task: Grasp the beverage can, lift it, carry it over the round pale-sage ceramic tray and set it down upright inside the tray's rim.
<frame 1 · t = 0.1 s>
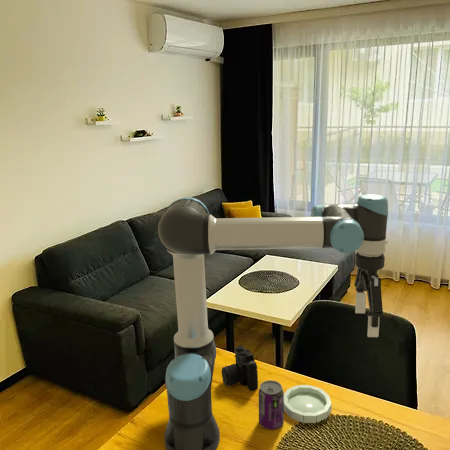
hand: (366, 324, 122), 28 cm above the table, fingers open, 13 cm apart
tray: (306, 406, 131), on the table
beverage can: (271, 423, 125), on the table
camera: (238, 381, 145), on the table
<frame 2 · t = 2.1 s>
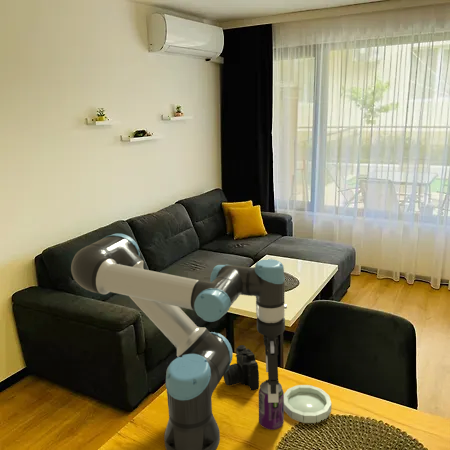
hand: (272, 385, 122), 12 cm above the table, fingers open, 13 cm apart
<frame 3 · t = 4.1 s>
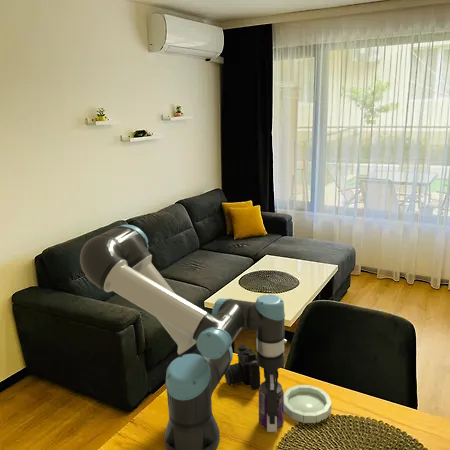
hand: (271, 421, 125), 1 cm above the table, fingers closed on beverage can, 7 cm apart
beverage can: (271, 423, 125), on the table, touching gripper
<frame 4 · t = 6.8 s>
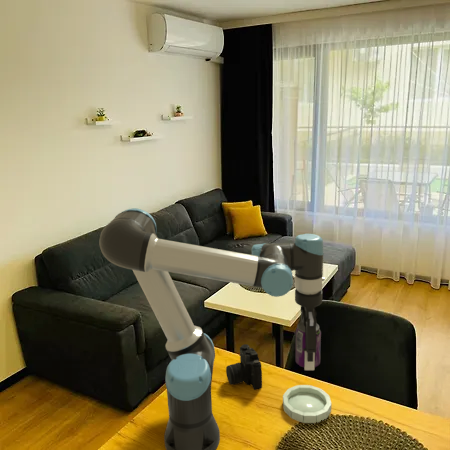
hand: (307, 361, 127), 16 cm above the table, fingers closed on beverage can, 7 cm apart
beverage can: (307, 363, 127), point 15 cm above the table, touching gripper
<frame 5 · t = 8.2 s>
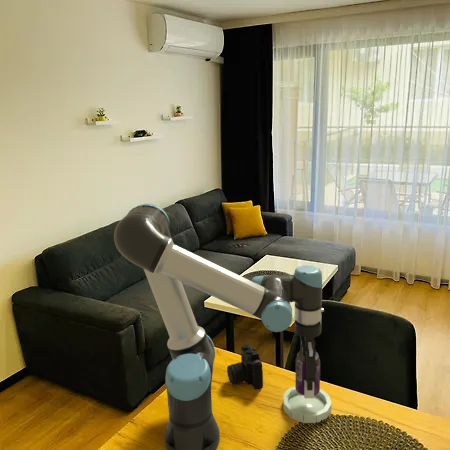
hand: (307, 389, 130), 6 cm above the table, fingers closed on beverage can, 7 cm apart
beverage can: (307, 391, 130), point 5 cm above the table, touching gripper
when the fingers open (4 cm above the table, at t = 9.4 s): beverage can drops 3 cm, resting on tray.
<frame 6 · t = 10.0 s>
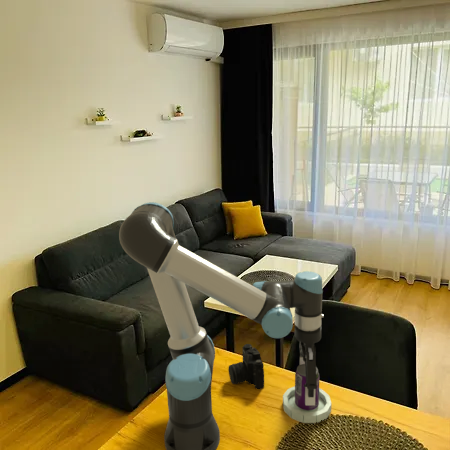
hand: (306, 389, 130), 6 cm above the table, fingers open, 13 cm apart
beverage can: (306, 404, 131), point 1 cm above the table, touching tray
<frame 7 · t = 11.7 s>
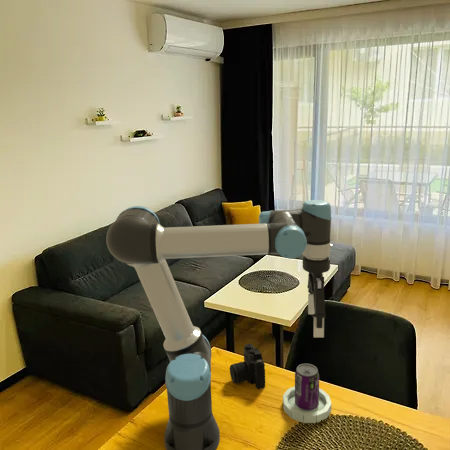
hand: (315, 324, 127), 26 cm above the table, fingers open, 13 cm apart
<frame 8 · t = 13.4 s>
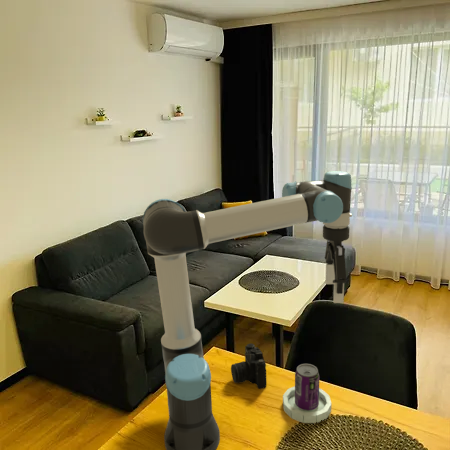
hand: (333, 292, 132), 33 cm above the table, fingers open, 13 cm apart
at the end: beverage can 0.0 cm from the tray (horizontally); beverage can tilted 0°; the gripper is holding nothing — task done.
